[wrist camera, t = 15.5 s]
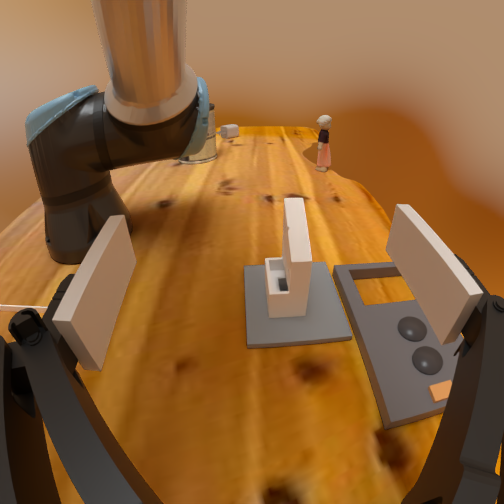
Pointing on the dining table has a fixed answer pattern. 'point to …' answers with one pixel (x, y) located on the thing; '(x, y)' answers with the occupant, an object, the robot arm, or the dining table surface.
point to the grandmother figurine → (323, 144)
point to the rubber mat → (300, 327)
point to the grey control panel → (398, 349)
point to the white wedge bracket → (290, 265)
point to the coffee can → (210, 145)
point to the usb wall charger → (229, 131)
